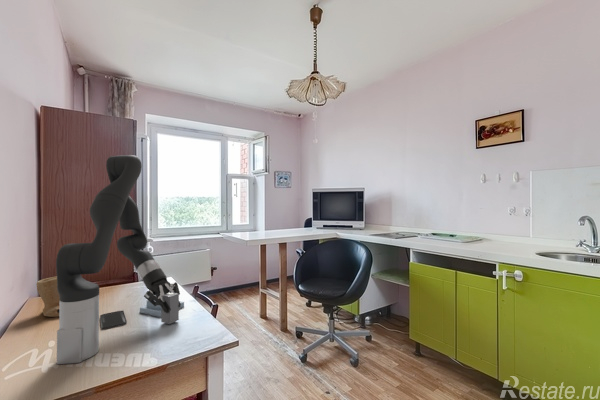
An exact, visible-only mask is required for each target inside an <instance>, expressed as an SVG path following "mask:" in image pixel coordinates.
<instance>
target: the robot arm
mask: <svg viewBox="0 0 600 400" xmlns="http://www.w3.org/2000/svg"><path fill="white" fill-rule="evenodd" d="M106 159H107V160H106V165H105V166H106V173H107V176H108V179H109V180H108V181H109V184H107V185H106V186H104V188H102V189H101V190H100V191H99V192H98V193H97V194H96V196H95V198H94V199H93V201H92V203H91V205H90V207H89V215H90V218H91V221H92V223H93V225H94V227H95V230H96V232H95V237H94V238H93V240H92V242H82V243H81V242H75V243H66V244H64V245H63V246H61V247H60V249H59V250H58V252H57V254H56V259H55V260H56V261H55V269H56V271H55V272H56V276H57V290H58V293H59V296H60V308H59V316H58V317H59V318H58V323H59V324H58V329H57V331H56V365H64V364H65V365H66V364H80V363H82V362H83V361H85V360H87V359H89V358H91V357H94V356H95V355H96V354H97V353H99V351H100V350H99V349H100V348H99V347H100V285H98V283H95V282H92V281H89V280H86V279H85V278H83V277H82V275H94V274H98V273H99V272H100V271H101V270H102V269H103V268H104V267H105V266H104V265H105V264H106V262H107V259H108V255H109V253H110V247H111V245H112V241H113V237H114V234H115V231H116V229H117V226H118V224H119V226H120V229H121V230H123V231H131V232H132V233H133V234H129V235H124V236H121V237H119V238H118V240H117V241H116V247H117V248H116V249H118V251H119V252H120V254H121V255H122V256H123V257H125V258H126V259H127V260H129V262H131V263H132V264H133V266H134V268H135V269H136V270H137V273H138V275H139V277H140V279H141V281H142V282H143V284H144V286H145V287H146V289H147V291H146V293H145V294H144V295H143V297H144V299H145V300H146V301H147V300H148V301H149V302H150V303H152V304H153V305H154V306H157V305H159V306H161V307H162V309H163V311H164V312H166V313H169V312H170V311H171V308H170V307H169V306H168V304H167V302H165V299H164V297H163V296H164V294H167V293H178V294H179V296H180V295H181V293H180V292H181V291H180V289H179V288H180V287H179V285H178V283H177V282H174V283H170V281H168V279H167V275H166V274H165V272H164V271H163V269H162V267H161V266H160V265H159V263H158V262H157V261H156V259H155V258H154V257H153V255H152V253H151V252H150V251H149V250H145V248H146V247H147V245H148V239H147V237H146V236H147V235H146V234H145V232H144V229H143V228H142V224H141V219H140V213H139V208H138V205H137V204H136V202H135V200H134V199H133V198H132V197H131V196H130V194H131V192H132V189H133V187H135V184H136V183H137V181H138V180H139V177H140V175H141V173H142V166H143V165H142V161H141V158H139V156H136V155H135V154H134V155H132V154H127V155H126V154H125V155H124V154H123V155H112V156H109V157H108V158H106ZM153 299H154V300H155V301H156V302H155V301H154V300H153ZM180 306H181V303H180V302H179V307H180Z"/></svg>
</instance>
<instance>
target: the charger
mask: <svg viewBox="0 0 600 400" xmlns="http://www.w3.org/2000/svg"><path fill="white" fill-rule="evenodd" d="M179 296H180V295H179V294H178V293H170V292H169V293H167V294H164V296H163V297H164V299H165V302H167V304H168V306H169V307H170V308H171V311H170V312H169V313H166V312H164V311H163V309H162V307H161V317H160V318H161V323H164V324H169V325H171V324H173V323H175V322H178V321H179V319H180V318H179V317H180V316H179V315H180V311H179V310H180V309H179V301H180V297H179Z"/></svg>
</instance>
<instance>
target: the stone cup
mask: <svg viewBox="0 0 600 400" xmlns="http://www.w3.org/2000/svg"><path fill="white" fill-rule="evenodd" d="M36 290H37V291H36V292H37V293H38V295H39V297H40V298H41V300H42V302H43V304H44V307H43V308H42V314H43V316H45V317H50V318H51V317H53V318H54V317H56V318H57V317H59V308H60V296H59V293H58V290H57V275H56V276H55V275H54V276H52V277H47V278H43V279H40V280H38V281H37V282H36Z"/></svg>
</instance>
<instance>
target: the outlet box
mask: <svg viewBox="0 0 600 400" xmlns="http://www.w3.org/2000/svg"><path fill="white" fill-rule="evenodd" d="M153 300H154V299H153ZM154 301H155V300H154ZM155 302H156V301H155ZM179 302H180V303H181V306H180V307H179V310H180V309H182V308H184V307H185V301H180V300H179ZM139 313H140V314H141V313H142V314H144V315H145V314H146V315H150V316H154V317H158V318H161V306H159V305H157V306H154V305H153V304H152V303H150V302H149V301H148V300H147V299H146V304H145V305H143V306H140V307H139Z"/></svg>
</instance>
